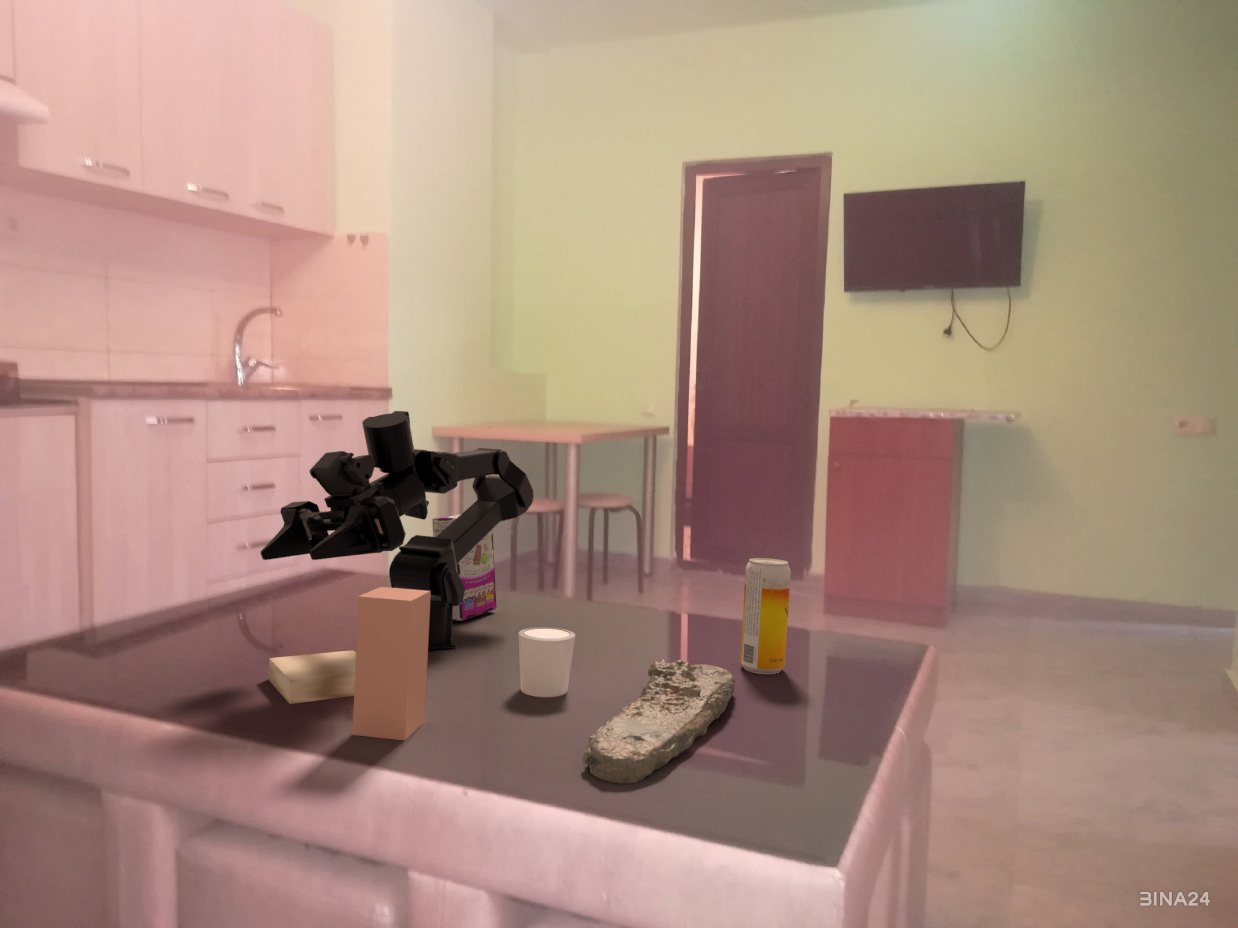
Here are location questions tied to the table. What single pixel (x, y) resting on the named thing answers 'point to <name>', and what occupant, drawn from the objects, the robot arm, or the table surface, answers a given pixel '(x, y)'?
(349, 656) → the birch block
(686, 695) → the elongated rock
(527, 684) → the white cup
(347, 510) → the robot arm
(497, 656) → the table surface
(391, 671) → the terracotta post
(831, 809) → the table surface
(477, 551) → the candy bar box
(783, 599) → the beer can
